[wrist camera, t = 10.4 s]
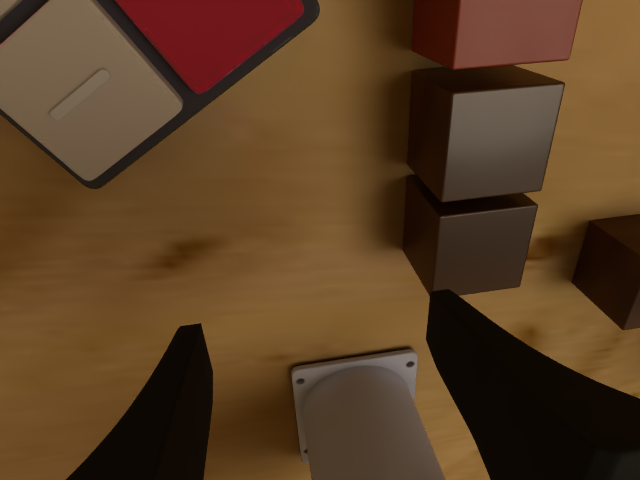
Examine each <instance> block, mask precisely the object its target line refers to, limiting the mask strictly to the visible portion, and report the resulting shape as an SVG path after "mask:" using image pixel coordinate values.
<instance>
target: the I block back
mask: <svg viewBox="0 0 640 480" xmlns="http://www.w3.org/2000/svg"><path fill="white" fill-rule="evenodd" d="M572 283H573V284H574V285H575V286H576V287H577V288H578V289H579V290H580V291H581V292H582V293H583V294H584V295H585V296H587V297H588V298H589V299H590V300H591V301H592V302H593V303H594V304H595V305H596V306H597V307H598V308H599V309H601V310H602V311H603V312H604V313H605V314H606V315H607V316H608V317H609V318H610V319H611V320H612V321H613V322H615V323H616V324H617V325H618V326H619V327H620V328H621V329H622V330H629V329H635V328H640V215H633V216H625V217H617V218H609V219H602V220H594V221H590V223H589V226H588V230H587V233H586V236H585V240H584V243H583V247H582V250H581V253H580V257H579V260H578V263H577V267H576V270H575V273H574V277H573V280H572Z"/></svg>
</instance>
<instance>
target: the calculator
mask: <svg viewBox="0 0 640 480" xmlns="http://www.w3.org/2000/svg"><path fill="white" fill-rule="evenodd" d="M319 11H320V8H319V4H318V1H317V0H0V114H1V115H2V116H3V117H4V118H5V119H7V120H8V121H9V122H10V123H11V124H12V125H14V126H15V127H16V128H17V129H18V130H20V131H21V132H22V133H23V134H24V135H25V136H27V137H28V138H29V139H30V140H31V141H32V142H34V143H35V144H36V145H37V146H38V147H39V148H41V149H42V150H43V151H44V152H45V153H47V154H48V155H49V156H50V157H51V158H52V159H54V160H55V161H56V162H57V163H58V164H59V165H61V166H62V167H63V168H64V169H65V170H67V171H68V172H69V173H70V174H71V175H72V176H74V177H75V178H76V179H77V180H78V181H80V182H81V183H82V184H83V185H85V186H86V187H88V188H91V189H98V188H101V187H102V186H104V185H105V184H107V183H108V182H109V181H110V180H112V179H113V178H114V177H116V176H117V175H118V174H119V173H121V172H122V171H123V170H125V169H126V168H127V167H128V166H130V165H131V164H132V163H134V162H135V161H136V160H137V159H139V158H140V157H141V156H143V155H144V154H145V153H146V152H148V151H149V150H150V149H152V148H153V147H154V146H155V145H157V144H158V143H159V142H161V141H162V140H163V139H164V138H166V137H167V136H168V135H170V134H171V133H172V132H173V131H175V130H176V129H177V128H179V127H180V126H181V125H182V124H184V123H185V122H186V121H188V120H189V119H190V118H191V117H193V116H194V115H195V114H197V113H198V112H199V111H200V110H202V109H203V108H204V107H206V106H207V105H208V104H209V103H211V102H212V101H213V100H215V99H216V98H217V97H218V96H220V95H221V94H222V93H224V92H225V91H226V90H227V89H229V88H230V87H231V86H233V85H234V84H235V83H236V82H238V81H239V80H240V79H242V78H243V77H244V76H245V75H247V74H248V73H249V72H251V71H252V70H253V69H254V68H256V67H257V66H258V65H260V64H261V63H262V62H263V61H265V60H266V59H267V58H269V57H270V56H271V55H272V54H274V53H275V52H276V51H278V50H279V49H280V48H281V47H283V46H284V45H285V44H287V43H288V42H289V41H290V40H292V39H293V38H294V37H296V36H297V35H298V34H299V33H301V32H302V31H303V30H305V29H306V28H307V27H308V26H310V25H311V24H312V23H313V22H314V21H315V20H316V19H317V18H318V15H319Z"/></svg>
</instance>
